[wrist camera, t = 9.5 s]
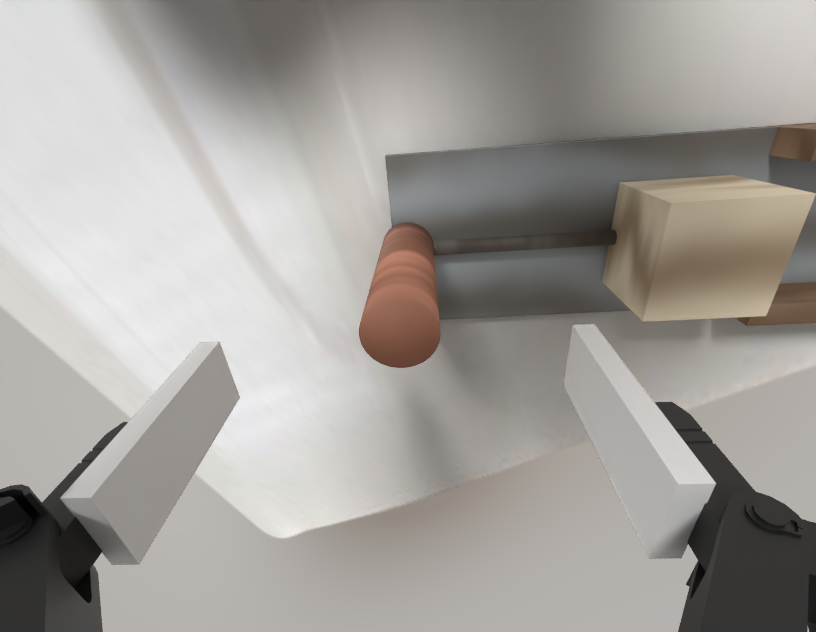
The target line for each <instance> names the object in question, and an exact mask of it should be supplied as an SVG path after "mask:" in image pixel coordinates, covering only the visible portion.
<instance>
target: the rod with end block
mask: <svg viewBox="0 0 816 632" xmlns="http://www.w3.org/2000/svg"><path fill="white" fill-rule="evenodd" d="M815 195H816V193H811V192H807V191H803V190H798V189H794V188H789V187H785V186H780V185H776V184H772V183H767V182H763V181H758V180H754V179H749V178H745V177H740V176H736V175H722V176H707V177H693V178H678V179H664V180H649V181H634V182H620V183H619V188H618V194H617V200H616V205H615V211H614V217H613V222H612V228H611V230H604V231H588V232H571V233H555V234H539V235H522V236H506V237H490V238H473V239H457V240H441V241H432V238H431V236H430V234H429V233H428V231H427V230H426V229H425V228H423V227H422V226H420V225H418V224H415V223H410V222H406V223H400V224H398V225H396V226H394V227H392V228H391V229H390V230H389V231H388V232H387V234H386V236H385V238H384V241H383V244H382V248H381V251H380V255H379V258H378V262H377V266H376V269H375V273H374V276H373V280H372V283H371V287H370V290H369V294H368V298H367V301H366V305H365V308H364V312H363V315H362V319H361V322H360V327H359V337H360V341H361V344H362V346H363V348H364V349H365V351H366V352H367V353H368V354H369V355H370V356H371V357H372V358H373V359H374V360H376V361H378V362H379V363H381V364H384V365H387V366H390V367H396V368H405V367H411V366H415V365H418V364H420V363H422V362H424V361H425V360H427V359H428V358H429V357H430V356H431V355H432V354H433V353H434V352H435V350H436V348H437V347H438V344H439V341H440V322H439V310H438V297H437V285H436V273H435V261H434V255H450V254H467V253H484V252H501V251H518V250H535V249H552V248H569V247H586V246H603V245H608V251H607V257H606V262H605V268H604V274H603V279H602V282H603V283H604V284H605V285H606V286H607V287H608V288H609V289H610V290H611V291H612V292H613V293H614V294H615V295H616V296H617V297H618V298H619V299H620V300H621V301H622V302H623V303H624V304H625V305H626V306H627V307H628V308H629V309H630V310H631V311H632V312H633V313H634V314H635V315H636V316H637V317H638V318H639V319H640V320H641V321H642V322H651V321H672V320H694V319H715V318H736V317H758V316H766V315H767V313H768V310H769V308H770V306H771V303H772V301H773V298H774V296H775V293H776V291H777V288H778V286H779V284H780V281H781V279H782V276H783V274H784V271H785V269H786V266H787V264H788V262H789V259H790V257H791V254H792V252H793V249H794V247H795V244H796V242H797V240H798V237H799V235H800V232H801V230H802V227H803V225H804V222H805V220H806V217H807V215H808V213H809V210H810V208H811V205H812V203H813V200H814V198H815Z"/></svg>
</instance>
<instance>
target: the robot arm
mask: <svg viewBox="0 0 816 632" xmlns="http://www.w3.org/2000/svg"><path fill="white" fill-rule="evenodd" d="M563 385H564V387H565V389H566V391H567V393H568V395H569V397H570V399H571V402H572V404H573V406H574V408H575V410H576V412H577V414H578V416H579V418H580V420H581V422H582V424H583V426H584V428H585V430H586V432H587V434H588V436H589V438H590V440H591V442H592V444H593V446H594V448H595V450H596V452H597V454H598V456H599V458H600V460H601V462H602V464H603V466H604V468H605V470H606V472H607V474H608V476H609V479H610V481H611V483H612V485H613V487H614V489H615V491H616V493H617V495H618V497H619V499H620V501H621V503H622V505H623V507H624V509H625V511H626V513H627V515H628V517H629V519H630V521H631V523H632V525H633V527H634V529H635V531H636V533H637V535H638V537H639V539H640V541H641V543H642V545H643V547H644V549H645V551H646V553H647V555H648V557H649V559H650V558H651V559H652V558H682V556H683V554H684V551H685V549H686V547H687V545H688V544H689V546H690V547H691V549H692V551H693V552H694V554H695V556H696V557H697V559H698V562H697V564H696V566H695V568H694V570H693V572H692V574H691V576H690V578H689V580H688V582H687V583H686V585H688V586H689V587H690V588H689V592H688V595H687V600H686V603H685V607H684V611H683V615H682V619H681V623H680V626H679V631H678V632H807V624H808V628H809V632H816V523H814V522H809V521H806V520H803V519H801V518H800V517H799V516H798V515H797V514H796V513H795V512H794V511H792V510H791V509H790V508H789V507H788V506H786V505H785V504H783V503H781V502H779V501H778V500H776V499H774V498H772V497H770V496H767V495H764V494H761V493H758V492H756V491H755V490H754V489H752V487H751V486H750V485H749V484H748V482H747V481H746V480H745V479H744V478H743V477H742V475H741V474H740V473H739V472H738V470H737V469H736V468H735V467H734V466H733V465H732V463H731V462H730V461H729V460H728V459H727V457H726V456H725V455H724V454H723V453H722V452H721V451H720V449H719V448H718V447H717V446H716V444H713V443H712V440H711V439H710V437H709V436H708V435H707V434H706V433H705V432H703V431H702V428H701V427H700V426H699V424H698V423H697V422H696V421H695V420H694V418H693V417H692V416H691V415H690V414H689V413H687V412H686V411H684V410H683V409H682V408H680V407H679V406H677V405H676V404H674V403H673V402H655V403H654V401H653V400H652V399H651V397H650V396H649V395H648V393H647V392H646V391H645V389H644V388H643V387H642V386H641V384H640V383H639V382H638V380H637V379H636V378H635V376H634V375H633V374H632V372H631V371H630V370H629V368H628V367H627V366H626V365H625V363H624V362H623V361H622V359H621V358H620V357H619V355H618V354H617V353H616V351H615V350H614V349H613V348H612V346H611V345H610V344H609V342H608V341H607V340H606V338H605V337H604V336H603V334H602V333H601V332H600V330H599V329H598V328H597V327H596V325H595V324H579V325H572V332H571V338H570V345H569V351H568V358H567V364H566V371H565V378H564V384H563ZM239 398H240V396H239V394H238V391H237V388H236V386H235V383H234V380H233V377H232V375H231V372H230V369H229V366H228V364H227V361H226V358H225V356H224V353H223V350H222V347H221V345H220V342H200V343H199V344H198V345H197V346H196V347H195V349H194V350H193V351H192V352H191V353H190V354H189V355H188V356H187V357H186V359H185V360H184V361H183V362H182V363H181V364H180V365H179V366H178V367H177V369H176V370H175V371H174V372H173V373H172V374H171V375H170V376H169V377H168V379H167V380H166V381H165V382H164V383H163V384H162V385H161V386H160V387H159V389H158V390H157V391H156V392H155V393H154V394H153V395H152V396H151V397H150V399H149V400H148V401H147V402H146V403H145V404H144V405H143V406H142V408H141V409H140V410H139V411H138V412H137V413H136V414H135V415H134V416H133V418H132V419H131V420H130V421H129V422H123V423H122V424H120V425H119V426H117V427H116V428H114V429H113V430H111V431H110V432H109V433H107V434H106V435H105V436H104V437H103V438H102V439H101V440H100V441H99V442H98V443H97V444H96V446H95V447H94V448H93V451H90V452H89V453H88V454H87V455H86V456H85V457H84V458H83V460H82V463H79V464H78V465H77V466H76V467H75V468H74V469H73V470H72V471H71V472H70V473H69V474H68V476H67V477H66V478H65V479H64V480H63V481H62V482H61V483H60V484H59V485H58V486H57V488H55V489H54V491H53V492H52V493H51V494H50V495H49V496H48V497H47V498H46V499H45V500H44V501H43V502H41V501H40V500H39V499H38V498H37V497H36V495H35V494H34V493H33V492H32V490H31V489H30V488H29V487H28V486H24V485H14V486H9V487H6V488H3V489H1V490H0V632H103V631H102V619H101V606H100V593H99V581H98V572H97V571H96V568H95V567H94V565H93V564H94V562H95V561H96V560H97V558H98V557H99V555H100V554H101V552H102V553H103V554H104V555H105V557H106V558H107V559H108V560H109V562H110V563H111V564H112V565H126V564H127V565H129V564H130V565H132V564H133V565H134V564H135V565H136V564H140V562H141V561H142V559H143V557H144V556H145V554H146V552H147V551H148V549H149V547H150V546H151V544H152V542H153V541H154V539H155V537H156V536H157V534H158V532H159V531H160V529H161V528H162V526H163V524H164V522H165V521H166V519H167V518H168V516H169V514H170V513H171V511H172V509H173V507H174V506H175V504H176V503H177V501H178V499H179V498H180V496H181V494H182V493H183V491H184V489H185V488H186V486H187V484H188V483H189V481H190V479H191V478H192V476H193V474H194V473H195V471H196V469H197V468H198V466H199V464H200V463H201V461H202V459H203V458H204V456H205V454H206V453H207V451H208V449H209V448H210V446H211V444H212V443H213V441H214V440H215V438H216V436H217V435H218V433H219V431H220V430H221V428H222V426H223V425H224V423H225V421H226V420H227V418H228V416H229V415H230V413H231V411H232V410H233V408H234V406H235V405H236V403H237V401H238V400H239Z"/></svg>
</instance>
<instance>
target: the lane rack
mask: <svg viewBox="0 0 816 632" xmlns="http://www.w3.org/2000/svg"><path fill="white" fill-rule="evenodd" d="M385 158H386V169H387V179H388V190H389V201H390V211H391V222H392V227H394V226H396V225H398V224H400V223H406V222H410V223H415V224H418V225H420V226H422V227H423V228H425V229H426V230H427V231H428V233H429V234H430V236H431V238H432V241H441V240H457V239H473V238H490V237H506V236H522V235H539V234H555V233H571V232H588V231H604V230H611V228H612V222H613V217H614V211H615V205H616V200H617V194H618V188H619V183H620V182H634V181H649V180H664V179H678V178H693V177H707V176H722V175H736V176H740V177H745V178H749V179H754V180H758V181H763V182H767V183H772V184H776V185H780V186H785V187H789V188H794V189H798V190H803V191H807V192H811V193H816V123H805V124H792V125H779V126H766V127H752V128H739V129H726V130H713V131H699V132H686V133H673V134H660V135H646V136H633V137H620V138H607V139H593V140H580V141H567V142H554V143H540V144H527V145H514V146H501V147H487V148H474V149H461V150H448V151H434V152H421V153H408V154H395V155H386V156H385ZM607 251H608V245H603V246H586V247H569V248H552V249H535V250H518V251H501V252H484V253H467V254H450V255H434V261H435V273H436V285H437V297H438V310H439V320H442V319H463V318H483V317H503V316H524V315H544V314H565V313H585V312H606V311H626V310H630V309H629V308H628V307H627V306H626V305H625V304H624V303H623V302H622V301H621V300H620V299H619V298H618V297H617V296H616V295H615V294H614V293H613V292H612V291H611V290H610V289H609V288H608V287H607V286H606V285H605V284H604V283H603V282H602V279H603V274H604V268H605V262H606V257H607ZM736 319H738V320H739V321H741V322H742V323H743V324H745V325H746V326H753V325H775V324H797V323H816V195H815V198H814V200H813V203H812V205H811V208H810V210H809V213H808V215H807V217H806V220H805V222H804V225H803V227H802V230H801V232H800V235H799V237H798V240H797V242H796V244H795V247H794V249H793V252H792V254H791V257H790V259H789V262H788V264H787V266H786V269H785V271H784V274H783V276H782V279H781V281H780V284H779V286H778V288H777V291H776V293H775V296H774V298H773V301H772V303H771V306H770V308H769V310H768V313H767V315H766V316H758V317H736Z"/></svg>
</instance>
